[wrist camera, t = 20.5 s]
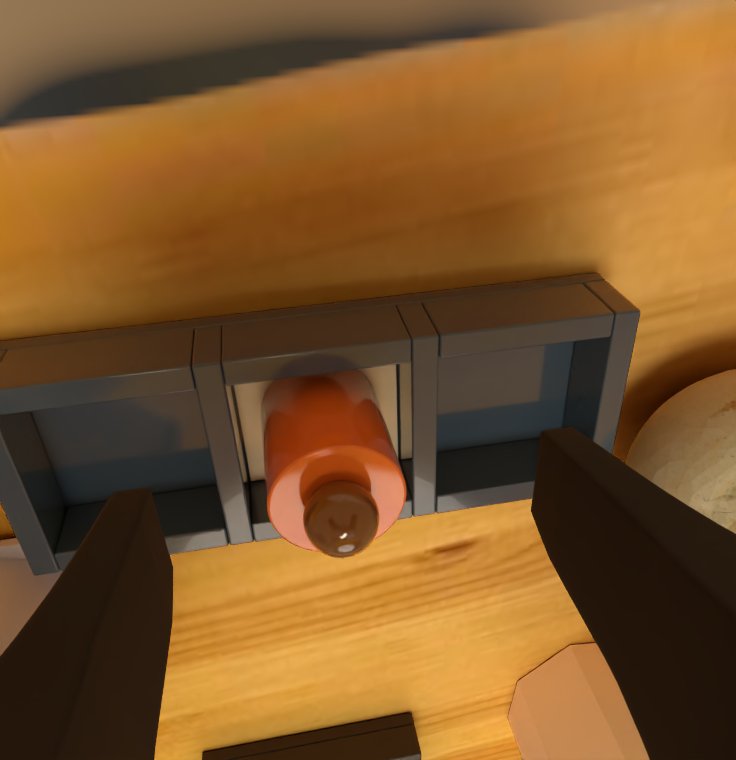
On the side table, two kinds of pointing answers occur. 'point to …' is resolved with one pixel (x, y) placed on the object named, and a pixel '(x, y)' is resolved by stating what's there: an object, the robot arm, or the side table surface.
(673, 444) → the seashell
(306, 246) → the side table surface
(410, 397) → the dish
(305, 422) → the orange cylinder with knob
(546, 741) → the mug
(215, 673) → the side table surface
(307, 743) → the tray
